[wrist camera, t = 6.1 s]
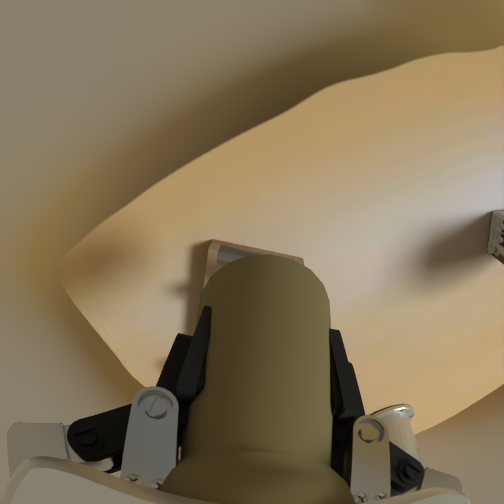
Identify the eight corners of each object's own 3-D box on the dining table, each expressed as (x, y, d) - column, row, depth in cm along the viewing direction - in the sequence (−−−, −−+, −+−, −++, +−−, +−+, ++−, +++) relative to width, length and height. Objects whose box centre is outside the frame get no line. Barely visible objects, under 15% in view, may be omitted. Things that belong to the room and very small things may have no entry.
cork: (187, 335, 13) (118, 542, 3) (223, 232, 11) (96, 562, 1) (293, 369, 14) (297, 567, 4) (353, 283, 11) (438, 545, 1)
